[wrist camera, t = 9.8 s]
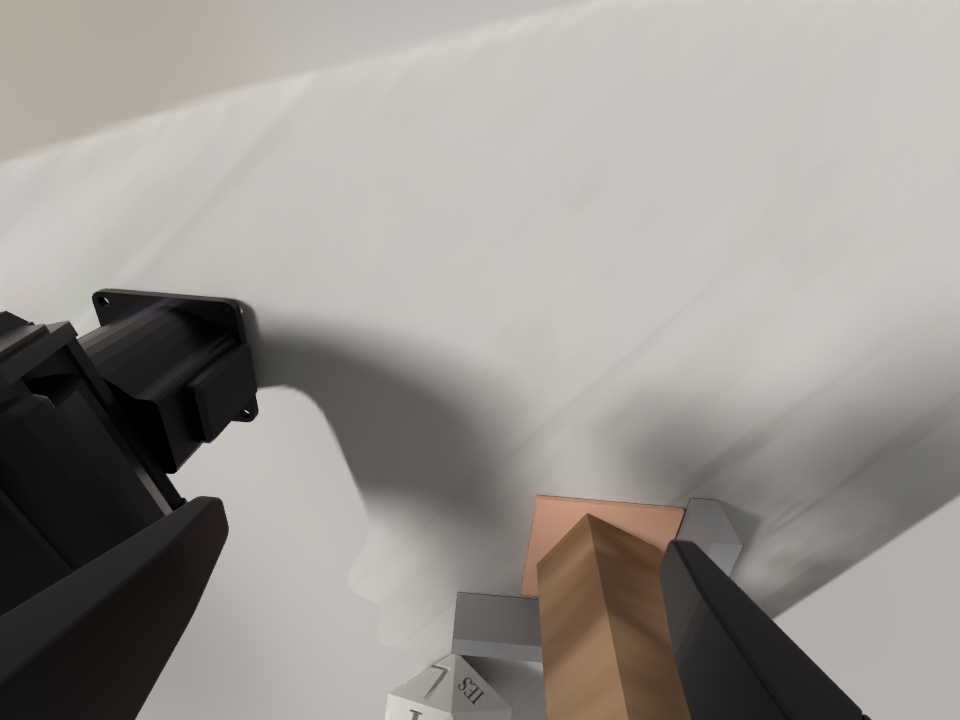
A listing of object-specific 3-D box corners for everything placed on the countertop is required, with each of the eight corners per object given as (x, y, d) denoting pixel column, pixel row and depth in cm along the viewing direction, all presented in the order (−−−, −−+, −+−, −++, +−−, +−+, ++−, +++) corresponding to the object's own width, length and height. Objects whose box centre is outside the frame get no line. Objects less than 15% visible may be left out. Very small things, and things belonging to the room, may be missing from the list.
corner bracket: (456, 607, 31) (451, 653, 28) (465, 478, 26) (460, 520, 23) (667, 626, 31) (682, 674, 28) (718, 500, 26) (743, 545, 23)
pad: (521, 590, 30) (521, 594, 30) (537, 495, 26) (537, 499, 26) (648, 601, 30) (649, 606, 29) (682, 507, 26) (684, 511, 26)
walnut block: (536, 564, 28) (557, 875, 17) (587, 512, 26) (650, 828, 15) (604, 595, 29) (667, 909, 18) (658, 547, 27) (770, 869, 16)
